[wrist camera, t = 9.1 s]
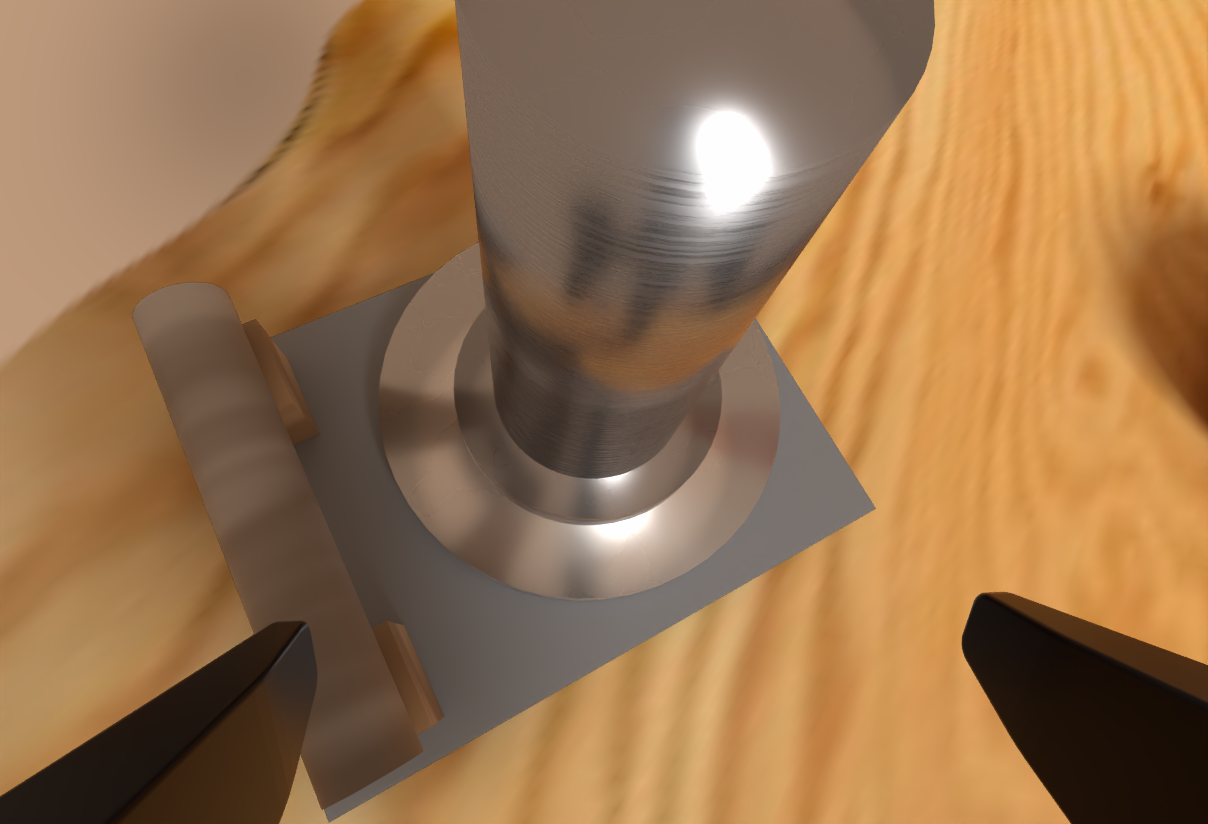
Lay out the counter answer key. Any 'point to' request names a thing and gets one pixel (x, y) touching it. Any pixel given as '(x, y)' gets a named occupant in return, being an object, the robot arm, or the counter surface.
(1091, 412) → the counter surface
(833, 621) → the counter surface
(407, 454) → the flange disc
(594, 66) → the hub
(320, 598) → the bar handle
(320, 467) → the board
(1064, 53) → the counter surface
